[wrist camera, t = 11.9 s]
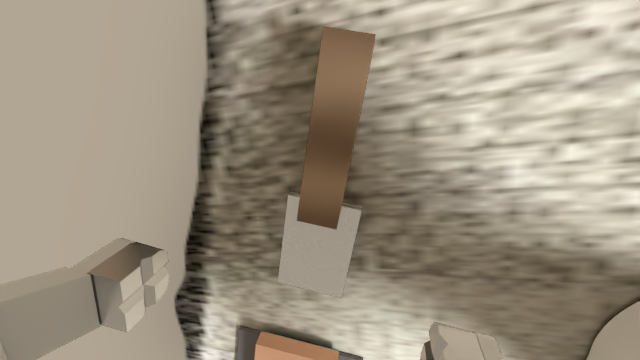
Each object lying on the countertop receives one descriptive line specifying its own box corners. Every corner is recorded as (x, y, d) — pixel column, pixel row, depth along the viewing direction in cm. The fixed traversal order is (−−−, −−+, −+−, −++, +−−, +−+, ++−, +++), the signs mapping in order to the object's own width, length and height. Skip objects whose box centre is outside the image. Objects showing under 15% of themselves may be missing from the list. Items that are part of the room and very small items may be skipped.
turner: (310, 30, 20) (294, 22, 16) (399, 44, 19) (406, 39, 15) (280, 276, 28) (264, 312, 24) (342, 291, 27) (337, 331, 23)
